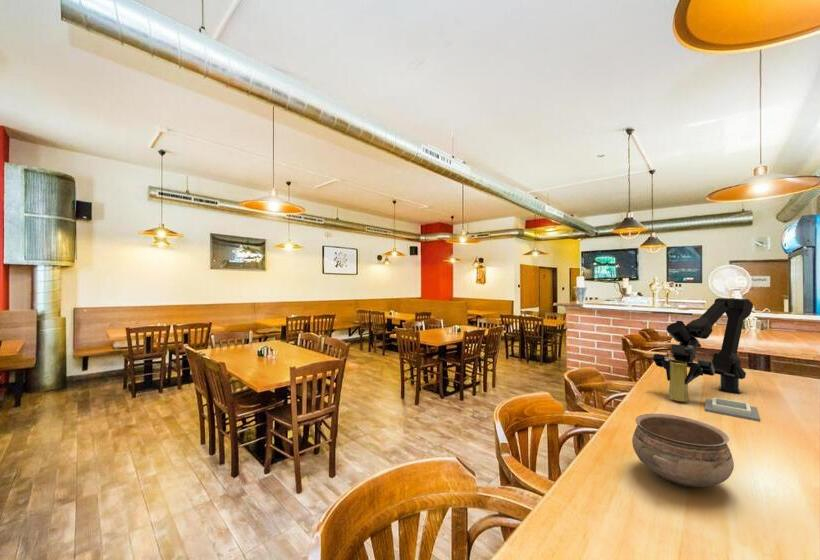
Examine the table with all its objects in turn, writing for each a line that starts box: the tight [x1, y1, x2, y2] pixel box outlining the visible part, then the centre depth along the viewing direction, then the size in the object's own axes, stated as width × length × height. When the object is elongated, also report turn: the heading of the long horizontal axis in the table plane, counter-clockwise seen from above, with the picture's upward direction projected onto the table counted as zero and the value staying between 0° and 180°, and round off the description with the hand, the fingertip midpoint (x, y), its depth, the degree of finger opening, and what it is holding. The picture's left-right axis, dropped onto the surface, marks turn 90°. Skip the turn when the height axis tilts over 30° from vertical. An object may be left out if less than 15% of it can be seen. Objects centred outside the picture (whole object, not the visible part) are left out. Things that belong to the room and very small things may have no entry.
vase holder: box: [704, 396, 761, 422], centre depth 125 cm, size 14×14×2 cm
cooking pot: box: [631, 413, 735, 488], centre depth 83 cm, size 25×19×12 cm
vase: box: [668, 360, 690, 402], centre depth 134 cm, size 6×6×14 cm
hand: (676, 381), depth 134 cm, fingers closed on vase, 5 cm apart
